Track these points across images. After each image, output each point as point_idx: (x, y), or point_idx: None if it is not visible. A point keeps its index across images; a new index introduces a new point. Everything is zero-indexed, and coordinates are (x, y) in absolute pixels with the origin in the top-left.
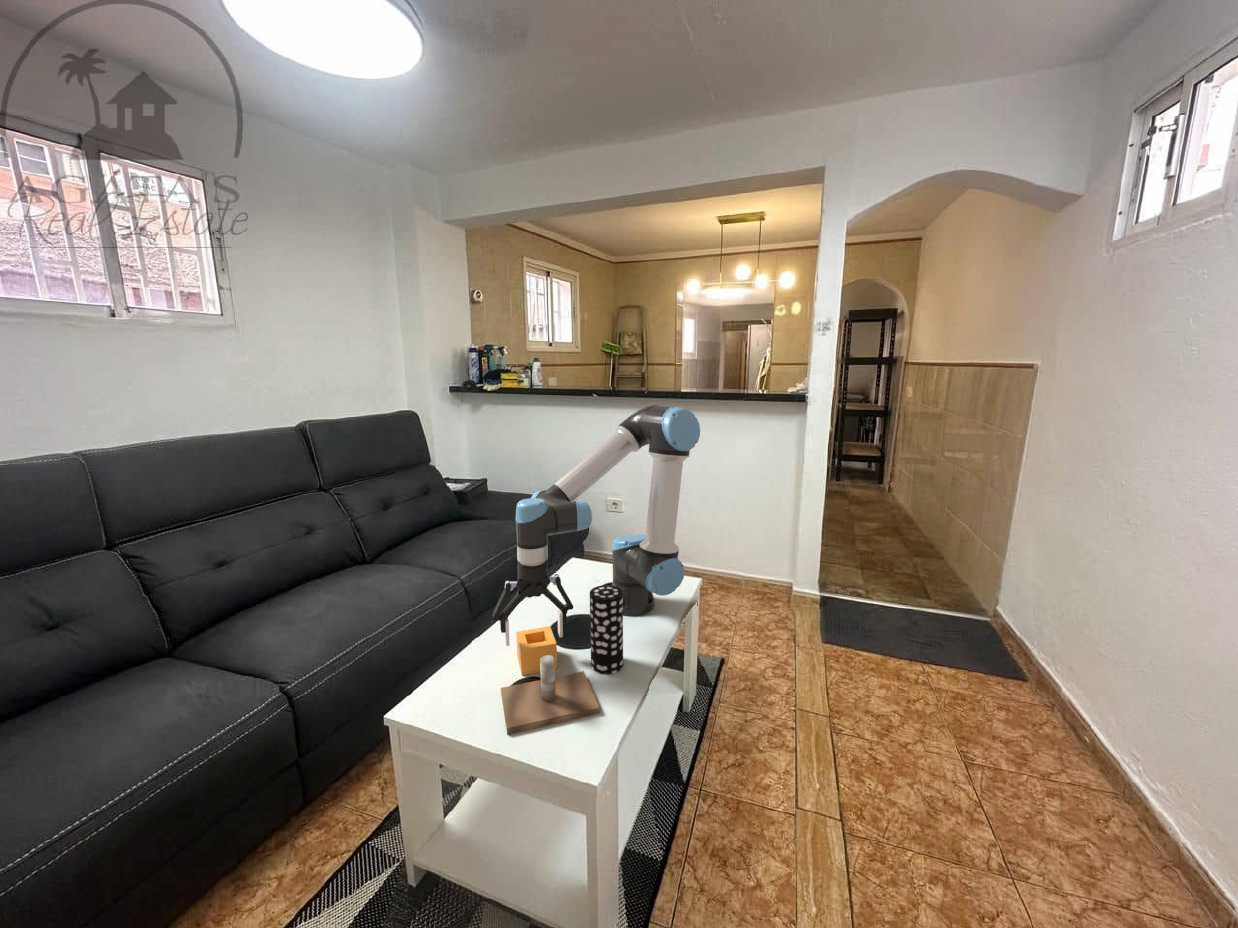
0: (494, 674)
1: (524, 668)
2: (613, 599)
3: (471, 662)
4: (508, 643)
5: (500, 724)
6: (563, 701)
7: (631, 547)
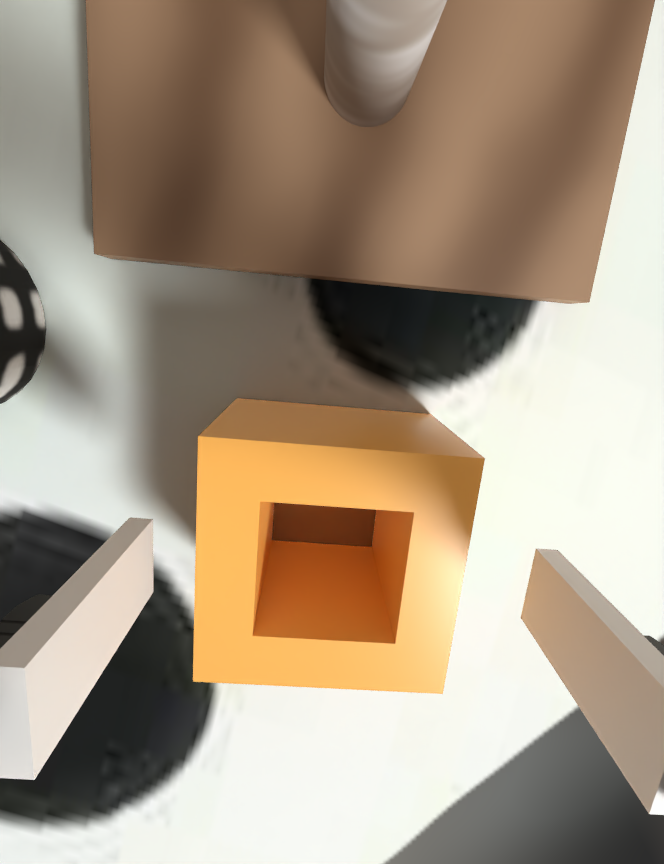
0: (550, 477)
1: (423, 420)
2: None
3: None
4: (550, 558)
5: (652, 31)
6: None
7: None
